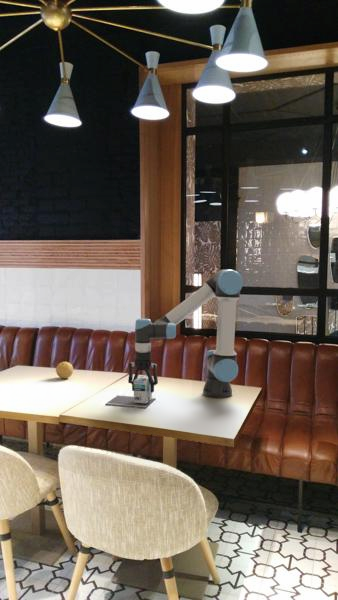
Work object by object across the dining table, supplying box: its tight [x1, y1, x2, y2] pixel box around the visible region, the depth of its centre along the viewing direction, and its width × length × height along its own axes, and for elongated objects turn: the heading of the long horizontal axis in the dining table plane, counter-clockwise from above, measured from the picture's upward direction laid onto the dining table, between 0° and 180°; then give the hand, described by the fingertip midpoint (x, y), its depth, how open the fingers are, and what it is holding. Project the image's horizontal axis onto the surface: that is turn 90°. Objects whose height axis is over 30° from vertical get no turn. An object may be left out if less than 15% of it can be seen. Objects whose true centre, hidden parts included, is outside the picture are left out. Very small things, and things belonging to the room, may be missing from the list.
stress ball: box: [55, 361, 74, 380], centre depth 280 cm, size 10×10×10 cm
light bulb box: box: [133, 375, 150, 403], centre depth 230 cm, size 11×7×11 cm, turn 168°
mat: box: [105, 394, 156, 409], centre depth 232 cm, size 20×16×1 cm
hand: (143, 398), depth 230 cm, fingers closed on light bulb box, 7 cm apart
